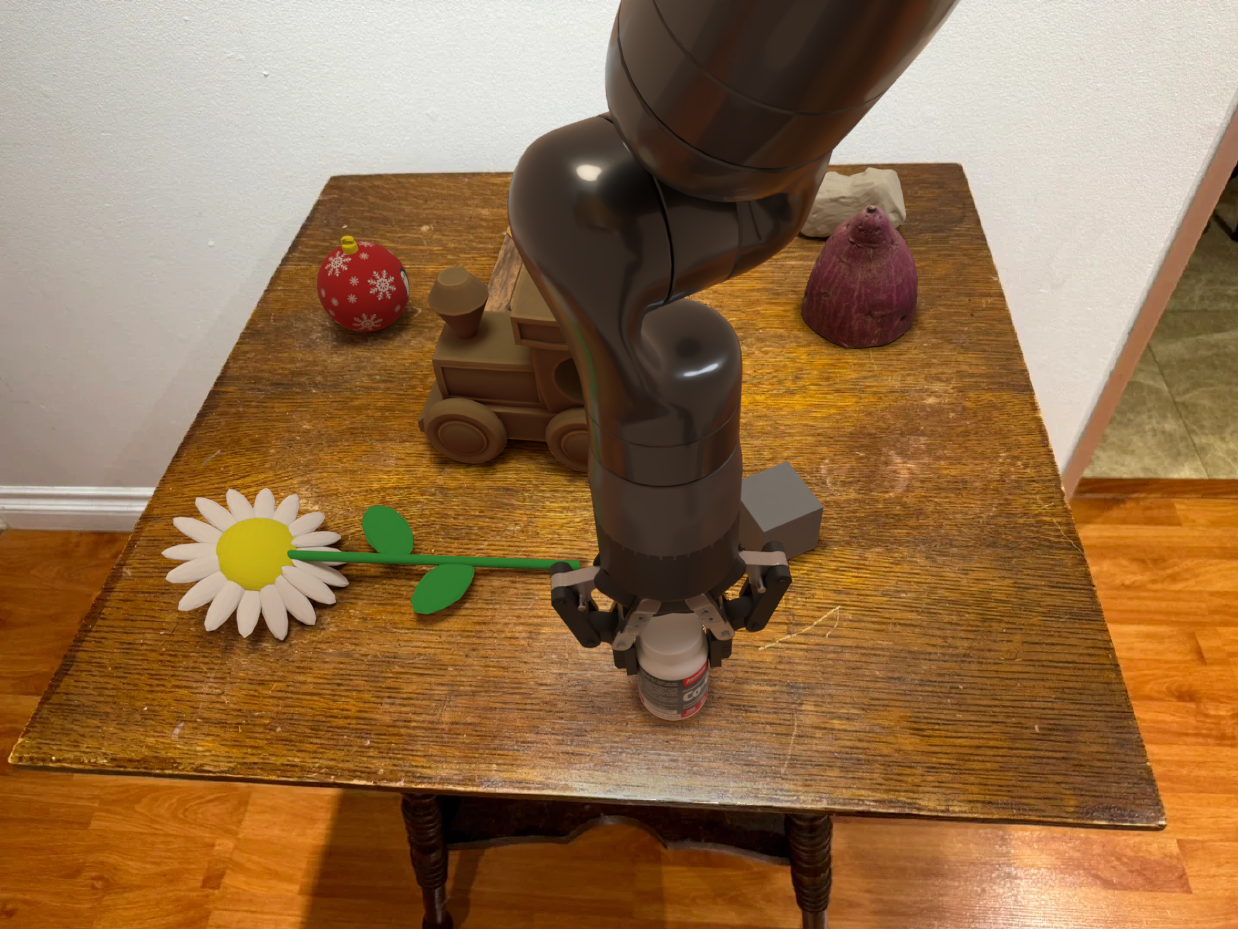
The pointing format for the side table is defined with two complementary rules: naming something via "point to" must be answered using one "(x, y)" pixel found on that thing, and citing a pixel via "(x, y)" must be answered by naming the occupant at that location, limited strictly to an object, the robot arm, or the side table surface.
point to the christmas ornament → (362, 285)
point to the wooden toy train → (501, 375)
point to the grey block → (779, 511)
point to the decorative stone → (854, 199)
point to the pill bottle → (673, 665)
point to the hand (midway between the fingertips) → (672, 658)
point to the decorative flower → (301, 561)
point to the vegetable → (862, 283)
